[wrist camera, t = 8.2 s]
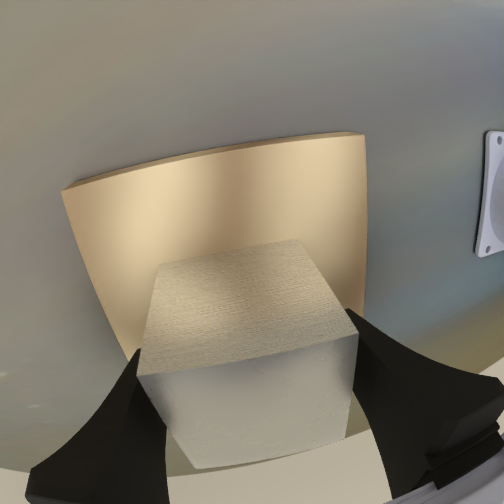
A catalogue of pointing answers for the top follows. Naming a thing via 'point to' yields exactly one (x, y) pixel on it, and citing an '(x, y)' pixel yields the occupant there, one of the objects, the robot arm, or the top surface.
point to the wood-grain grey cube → (248, 355)
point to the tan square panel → (222, 217)
